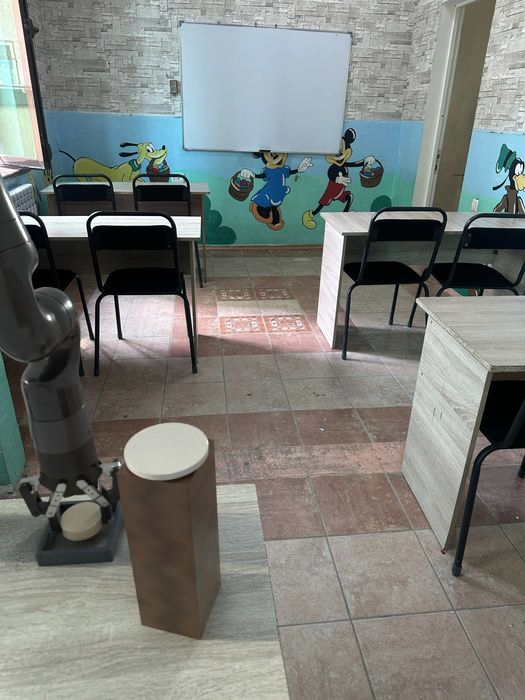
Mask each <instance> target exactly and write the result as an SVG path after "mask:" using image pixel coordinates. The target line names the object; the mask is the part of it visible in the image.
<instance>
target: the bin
mask: <svg viewBox="0 0 525 700" xmlns="http://www.w3.org/2000/svg"><path fill="white" fill-rule="evenodd" d="M83 502H93V503H96V504H98V505H99V506H100V504H99V503H98V502H97V501H96V500H92V499H81V500H80V499H79V500H63V501H62V500H61V502H60V504H59V508H60V512H61V516H62V515H63V514H64V512H65V511H66V510H67V509H69V508H70V507H72V506H74V505H76V504H79V503H83ZM111 508H112V514H113V513H114V516H113V519H112V524H111V527H110V528H111V529H110V532H109V536H108V540H107V543H106V546H96V547H81V548H66V549H52V550H51V548H52V545H53V543H54V541H55V537H56V536H57V533H56V531H54V532H53V531H52V530H51V527H50V524H49V522H48V523H47V525H46V528H45V531H44V533H43V536H42V538H41V540H40V543H39V545H38V547H37V550H36V553H35V558H36V563H37V566H38V567H40V568H41V567H55V566H69V565H84V564H85V565H86V564H101V563H113V562H114V558H115V553H116V550H117V546H118V541H119V536H120V532H121V528H122V523H123V520H124V516H123V510H122V504H121V499H120V500H119V501H112V502H111Z"/></svg>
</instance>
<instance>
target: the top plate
mask: <svg viewBox="0 0 525 700" xmlns="http://www.w3.org/2000/svg"><path fill="white" fill-rule="evenodd" d="M60 525H61V529H62V535H63V536H64V537H65V539H67V540H68V541H69V540H70V541H74V542H80V541H84V540H88V539H91V538H92V537H93V536H95V535H97V534H98V533H99V532H100V531H101V529H102V528H103V526H104V525H103V521H102V516H101V511H100V506H99V505H98V504H96V503H93V502H83V503H79V504H76V505H74V506H72V507H70V508H69V509H67V510H66V511H65V512H64V514H63V515H62V517H61V522H60Z"/></svg>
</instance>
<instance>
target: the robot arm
mask: <svg viewBox="0 0 525 700" xmlns="http://www.w3.org/2000/svg"><path fill="white" fill-rule="evenodd" d="M39 261H40V257H39V253H38V251H37V248H36V246H35V244H34V242H33V240H32V237H31V235H30V234H29V231H28V230H27V227H26V224H25V223H24V221H23V218H22V217H21V215H20V212H19V211H18V209H17V207H16V204H15V202H14V200H13V198H12V196H11V194H10V191H9V190H8V187H7V185H6V183H5V181H4V178H3V175H2V174H1V172H0V350H1V351H2V352H3V353H4V354H6V355H7V356H8V357H9V358H11V359H13V360H14V361H17V362H21V363H26V364H28V365H27V367H26V368H25V370H24V372H23V373H22V374H21V375H22V376H21V378H20V389H21V392H22V393H21V394H22V396H23V401H24V404H25V408H26V413H27V417H28V428H29V432H30V433H29V434H30V439H31V443H32V444H33V448H34V452H35V455H36V456H35V457H36V460H37V463H38V467H39V474H36V475H33V476H31V475H29V474H23V475H22V476H21V478H20V482H19V485H18V491H19V494H20V495H21V497H22V500H23V501H24V503H25V505H26V507H27V509H28V511H29V512H30V514H31V516H32V517H33V518H38V517H40V516H41V515H42V516H46V518H47V521H48V523H49V524H50V527H51V530H52V531H53V532H54V531H56V535H61V534H62V535H63V533H62V529H61V525H60V522H61V517H62V516H61V512H60V508H59V504H60V502H62V499H68V498H71V497H73V496H84V495H87V496H88V497H89V498H90V500H96V501H97V502H98V503H99V504H100V511H101V516H102V521H103V526H105V525H109V521H111V520H113V519H112V518H113V513H112V508H111V502H112V501H119V500H120V499H121V498H120V492H119V486H118V480H117V474H116V473H117V472H118V470H119V469H120V468H121V467H122V460H121V459H120V458H114V459H113V460H112V462H106V463H105V462H104V463H103V462H102V461H101V460H100V459H99V458H98V453H97V450H96V449H97V448H96V444H95V439H94V434H93V433H94V432H93V428H92V423H91V417H90V414H89V410H88V408H87V405H86V401H85V397H84V392H83V386H82V382H81V381H82V380H81V378H80V362H81V341H82V340H81V339H82V336H81V335H82V334H81V333H82V332H81V330H82V329H81V320H80V316H79V313H78V310H77V308H76V305H75V304H74V302H73V300H72V299H71V298H70V297H69V296H68V295H67V294H66V293H65V292H63V291H62V290H60V289H58V288H55V287H51V286H43V287H39V288H35V289H34V286H33V281H32V276H33V273H34V271H35V270H36V269H37V267H38V265H39ZM103 473H104V474H105V475H106V477H107V478H108V479H109V480H111V483H112V485H111V488H109V489H107V487H105V486H104V484H103V483H102V481H101V479H100V477H101V476H102V474H103ZM39 485H41V486H42V487H44V488H45V489H47V490H48V491H50V495H49V497H48V500H47V501H43V499H42V497H41V495H40V493H39V490H38V489H39Z"/></svg>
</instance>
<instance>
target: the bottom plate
mask: <svg viewBox="0 0 525 700" xmlns="http://www.w3.org/2000/svg"><path fill="white" fill-rule="evenodd" d="M207 438H208V437H207V435H206V434H205V433H204V432H203V431H202V430H201V429H199V428H198V427H196V426H193V425H191V424H188V423H183V422H163V423H158V424H154V425H151V426H148V427H146V428H144V429H141V430H140V431H138V432H137V433H136V434H134V435H132V437H131V438H130V439H129V440H128V441H127V443H126V444H125V446H124V450H123V457H124V463H126V465H127V467H128V469H129V470H130V471H131V472H133V473H134V474H135V475H137V476H139V477H142V478H145V479H149V480H170V479H175V478H179V477H182V476H185V475H187V474H189V473H191V472H193V471H195V470H196V469H197V468H199V467H200V466H201V465H202V464H203V463H204V461H205V460H206V458H207V456H208V452H209V444H208V439H209V438H208V439H207Z"/></svg>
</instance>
